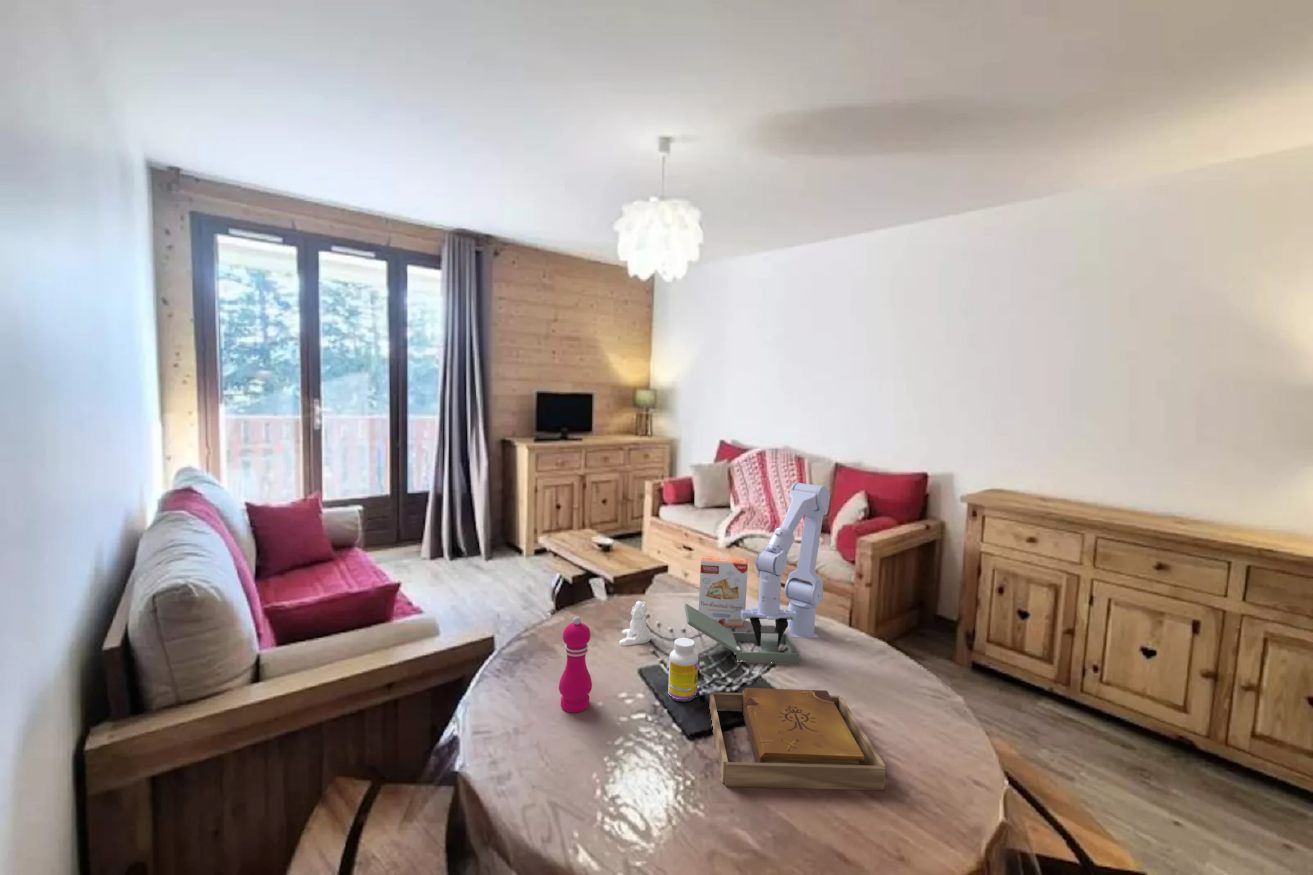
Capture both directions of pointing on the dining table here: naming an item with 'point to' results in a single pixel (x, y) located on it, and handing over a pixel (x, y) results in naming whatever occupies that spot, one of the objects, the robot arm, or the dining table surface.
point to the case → (730, 638)
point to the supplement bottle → (683, 669)
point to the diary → (797, 728)
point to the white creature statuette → (637, 626)
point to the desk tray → (798, 773)
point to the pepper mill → (575, 668)
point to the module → (768, 639)
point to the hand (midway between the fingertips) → (767, 645)
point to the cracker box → (723, 589)
